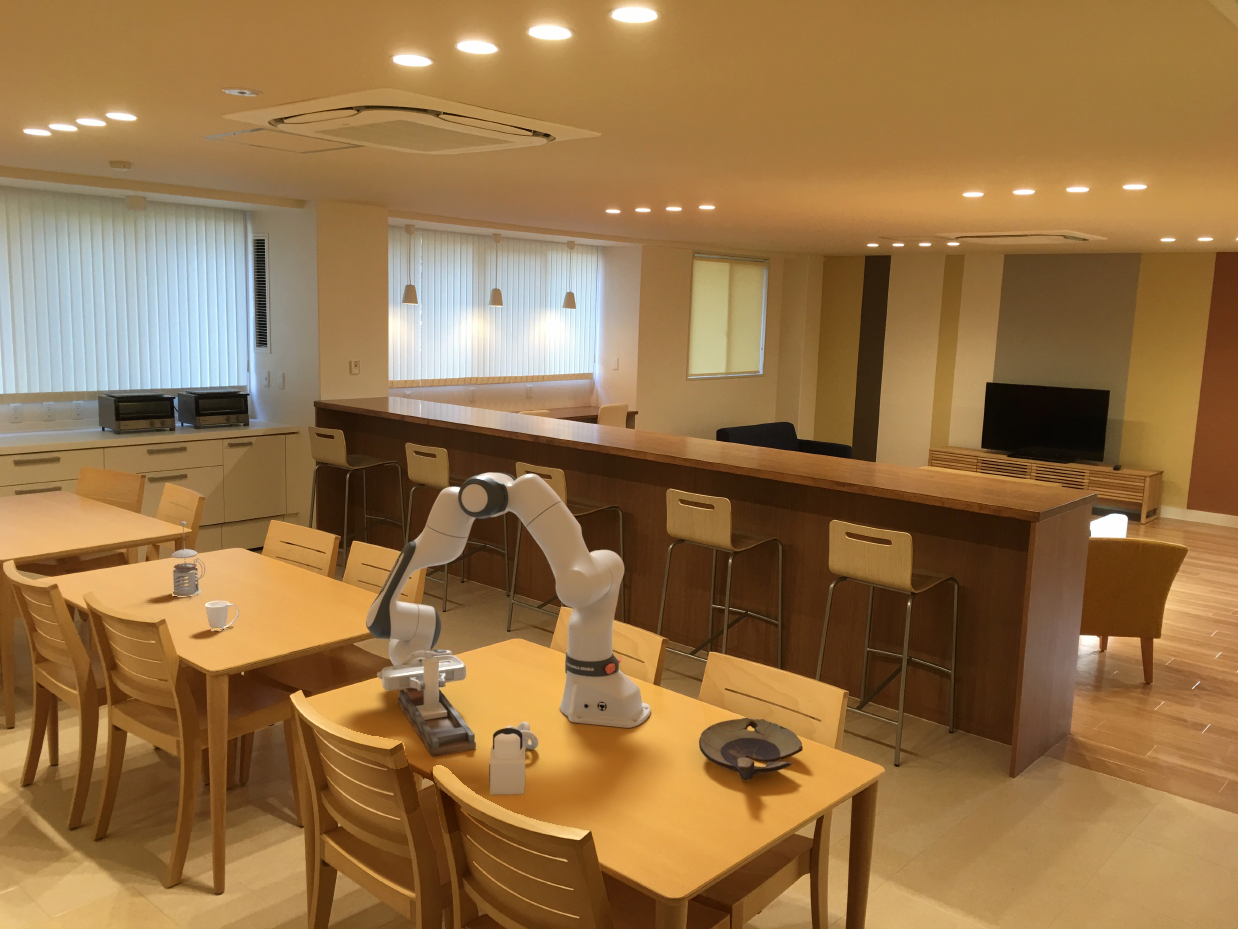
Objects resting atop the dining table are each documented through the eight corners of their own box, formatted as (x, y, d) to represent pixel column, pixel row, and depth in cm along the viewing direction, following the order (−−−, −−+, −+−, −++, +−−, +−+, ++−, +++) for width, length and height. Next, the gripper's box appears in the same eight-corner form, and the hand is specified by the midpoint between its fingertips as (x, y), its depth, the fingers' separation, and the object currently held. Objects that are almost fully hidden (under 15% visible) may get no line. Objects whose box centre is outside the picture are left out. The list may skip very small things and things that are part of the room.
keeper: (447, 716, 230) (447, 663, 228) (422, 720, 227) (421, 666, 225) (440, 707, 235) (440, 655, 233) (415, 710, 232) (415, 658, 230)
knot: (543, 746, 219) (544, 722, 218) (531, 761, 212) (531, 736, 211) (512, 741, 221) (513, 717, 220) (499, 756, 214) (499, 731, 213)
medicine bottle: (490, 779, 203) (491, 724, 201) (524, 778, 204) (525, 724, 202) (489, 795, 196) (489, 739, 194) (524, 795, 197) (525, 739, 195)
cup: (201, 629, 292) (200, 603, 291) (233, 622, 300) (232, 597, 298) (211, 634, 288) (210, 608, 286) (244, 627, 295) (243, 602, 294)
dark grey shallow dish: (817, 755, 218) (819, 723, 217) (760, 809, 193) (762, 773, 192) (728, 730, 230) (729, 699, 229) (664, 778, 205) (665, 744, 204)
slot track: (475, 749, 217) (475, 730, 216) (432, 756, 212) (431, 737, 212) (437, 697, 245) (437, 680, 244) (397, 703, 241) (397, 686, 240)
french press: (181, 588, 334) (178, 517, 330) (212, 590, 332) (209, 519, 329) (164, 596, 324) (160, 523, 321) (196, 598, 323) (193, 525, 319)
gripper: (375, 659, 236) (388, 679, 224) (456, 649, 245) (473, 667, 233) (375, 684, 237) (388, 705, 225) (456, 672, 246) (472, 692, 234)
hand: (432, 685), depth 229 cm, fingers closed on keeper, 4 cm apart
